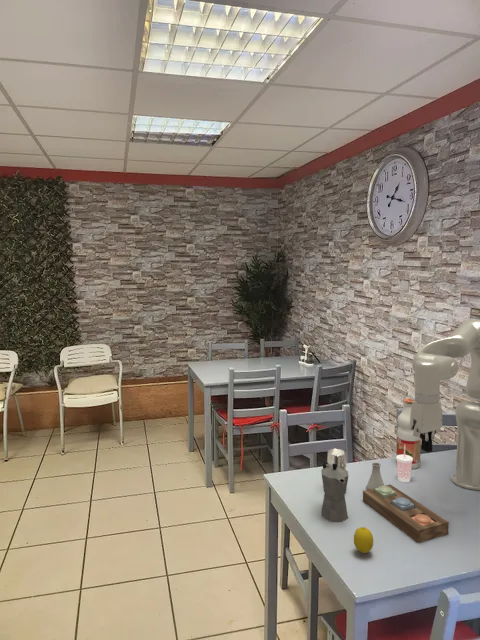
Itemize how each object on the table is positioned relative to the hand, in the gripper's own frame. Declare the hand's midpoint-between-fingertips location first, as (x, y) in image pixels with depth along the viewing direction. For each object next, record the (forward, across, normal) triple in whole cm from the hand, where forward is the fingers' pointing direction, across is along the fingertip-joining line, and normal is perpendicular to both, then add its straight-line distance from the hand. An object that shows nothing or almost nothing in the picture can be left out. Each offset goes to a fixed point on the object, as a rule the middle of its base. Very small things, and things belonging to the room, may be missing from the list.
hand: (426, 450), depth 151 cm
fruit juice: (+24, -21, -32) cm, 45 cm away
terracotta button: (+21, +9, +8) cm, 24 cm away
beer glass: (+22, +19, -26) cm, 39 cm away
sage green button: (+19, +9, -10) cm, 24 cm away
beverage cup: (+23, -10, -22) cm, 34 cm away
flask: (+23, +5, -20) cm, 31 cm away
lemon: (+21, +33, +9) cm, 40 cm away
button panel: (+22, +9, -1) cm, 24 cm away
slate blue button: (+19, +9, -1) cm, 21 cm away
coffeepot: (+21, +29, -13) cm, 38 cm away
